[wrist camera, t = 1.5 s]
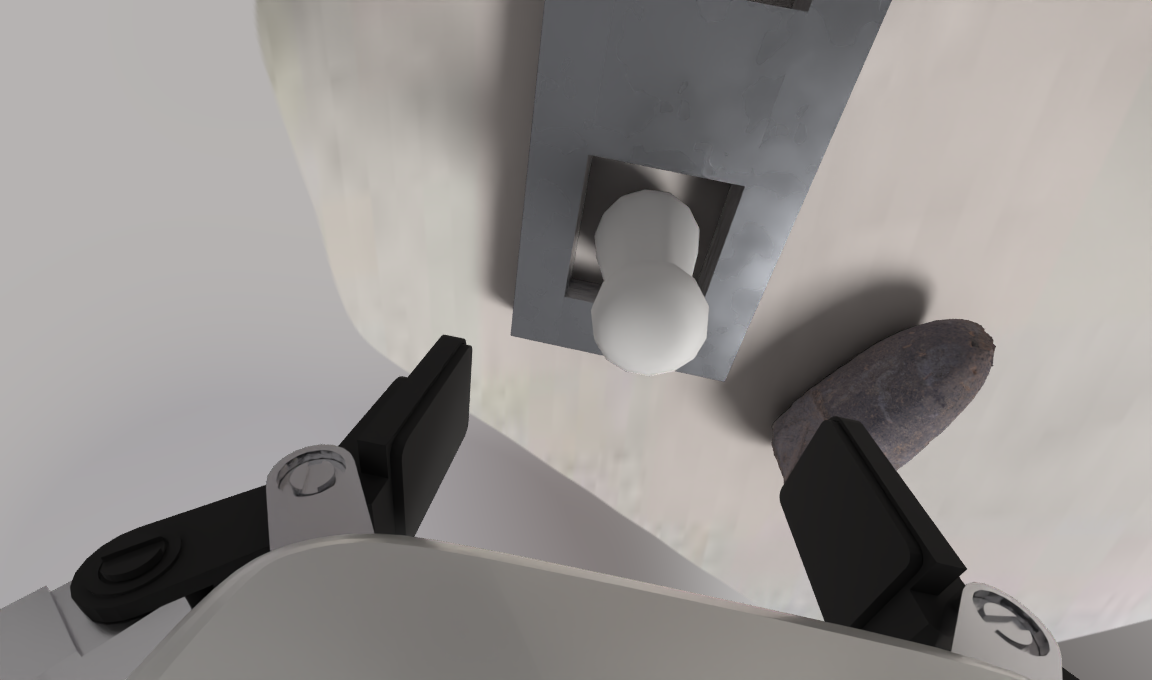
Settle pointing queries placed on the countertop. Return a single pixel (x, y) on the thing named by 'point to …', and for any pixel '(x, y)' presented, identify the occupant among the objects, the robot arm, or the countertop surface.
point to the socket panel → (683, 139)
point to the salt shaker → (648, 284)
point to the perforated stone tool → (894, 391)
